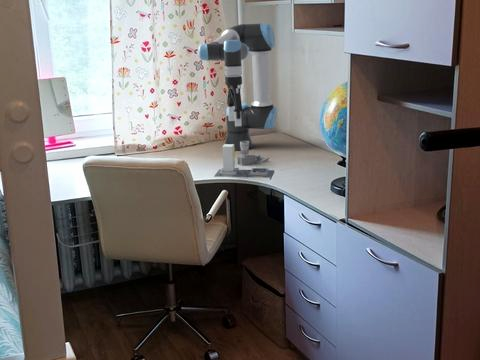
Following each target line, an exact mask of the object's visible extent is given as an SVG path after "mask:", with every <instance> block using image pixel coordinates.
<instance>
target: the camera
mask: <svg viewBox="0 0 480 360" xmlns="http://www.w3.org/2000/svg"><path fill="white" fill-rule="evenodd" d="M240 147H241V150H240V155H237V156H236V157H237V165H241V166H248V165H253V164H256V163H258V164H260V163H264V162H266V161H269V160H270V157H267V156H264V155H261V154H254V153H250V152H249V151H250V150H249V141H240Z"/></svg>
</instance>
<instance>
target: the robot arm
mask: <svg viewBox="0 0 480 360" xmlns="http://www.w3.org/2000/svg"><path fill="white" fill-rule="evenodd" d="M275 38H276V37H275V32H274V29H273V27H272V25H271V24H269V23H261V22H260V23H246V24H245V23H242V24H237V25H234V26H231V27H228V28H227V29H226V30H224V31H223V32H222V34H221V35H220V36H219V37H218V38H216V39H215V40H213V41H211V42H210V43H201V44H199V46H198V57H199V59H200V60H201V61H207V62H208V61H223V62H224V68H223V71H224V85H226V86H227V99H226V104H227V107H226V115H225V116H226V137H225V140H224V144H234V147H235V151H241V147H240V141H249V149H252V148H253V141H252V138H251V135H250V132H249V131H250V129H251V130H252V129H253V130H268V129H269V130H270V129H273V128H274V127H275V124H276V122H277V117H278V116H277V114H278V111H277V110H278V109H277V106H274V102H273V101H272V100H271V91H270V89H271V88H270V87H271V86H270V85H271V84H270V83H271V81H270V60H269V59H270V57H269V56H270V53H271V52H272V50H273V49H272V48H274V47H275V43H276V42H275V41H276V39H275ZM249 54H251V62H252V63H251V64H252V65H251V67H252V68H251V70H252V87H253V89H252V91H253V101H252V102H251V103H250V106H249V105H248V103H244V102H243V103H242V98H241V97H242V96H241V89H240V88H239V86H242V84H243V76H242V75H243V65H242V61H243V60H244V59H246V58H247V57H248V56H249ZM224 144H223V145H224Z"/></svg>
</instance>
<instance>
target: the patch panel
mask: <svg viewBox="0 0 480 360" xmlns="http://www.w3.org/2000/svg"><path fill="white" fill-rule="evenodd" d="M274 174H275V170H274V169H270V168H269V167H268V168H267V167H260V168H259V167H252V168H251V169H240V168H239V167H235V172H223V167H222V168H220V169H218V170H217V172H216V173H215V175H214V176H213V177H215V178H218V177H219V178H220V177H222V178H223V177H225V178H263V179H265V178H266V179H267V178H269V180H272V178H273V176H274Z"/></svg>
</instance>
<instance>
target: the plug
mask: <svg viewBox="0 0 480 360" xmlns="http://www.w3.org/2000/svg"><path fill="white" fill-rule="evenodd" d="M221 150H222V168H223V172H235V168H236V162H235V161H236V160H235V155H236V154H235V151H236V150H235V147H234V144H223V145H222V147H221Z"/></svg>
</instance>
